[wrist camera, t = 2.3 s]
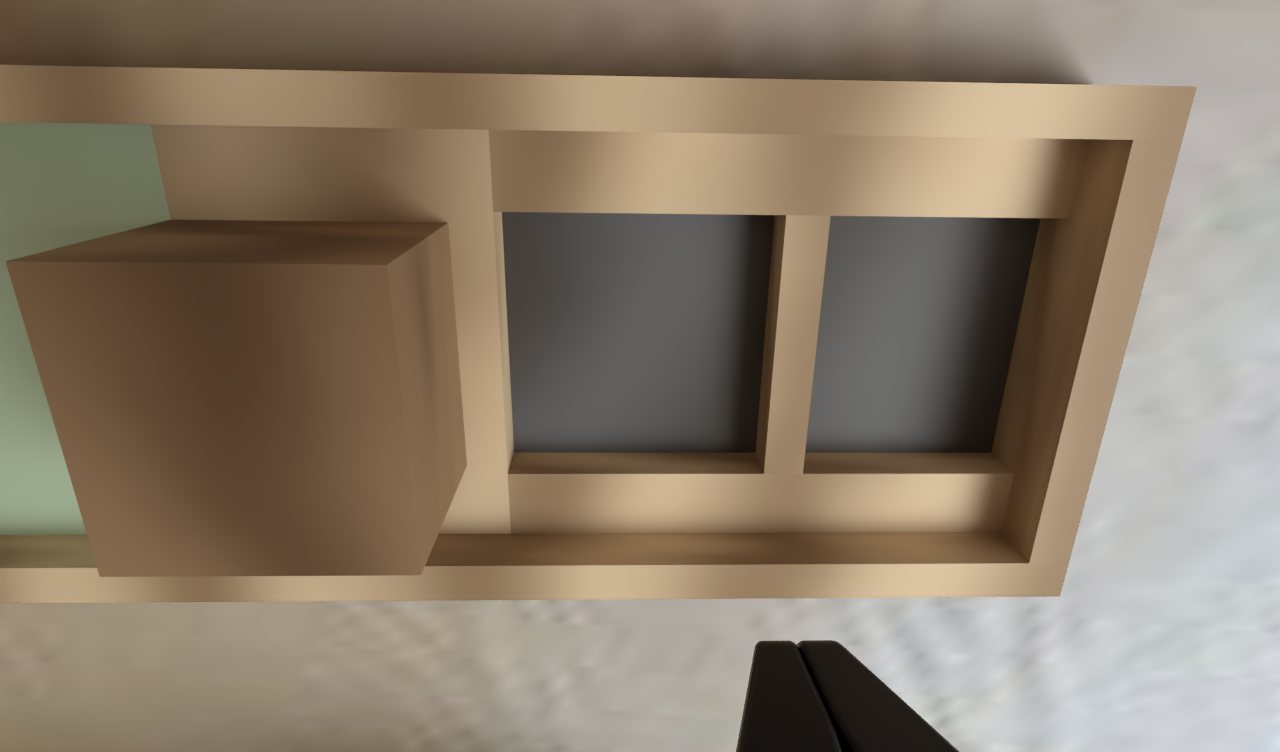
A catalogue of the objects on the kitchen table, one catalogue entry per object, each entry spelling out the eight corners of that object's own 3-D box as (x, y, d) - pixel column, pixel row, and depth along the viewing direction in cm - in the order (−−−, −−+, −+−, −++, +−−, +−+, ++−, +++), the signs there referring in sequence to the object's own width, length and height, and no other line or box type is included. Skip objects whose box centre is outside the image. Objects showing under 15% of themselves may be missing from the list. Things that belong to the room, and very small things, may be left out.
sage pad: (-43, 510, 19) (-84, 535, 18) (-189, 114, 16) (-251, 115, 15) (259, 509, 20) (237, 534, 18) (182, 121, 16) (150, 122, 15)
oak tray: (-57, 534, 20) (-167, 604, 17) (-236, 65, 16) (-420, 57, 13) (1000, 530, 21) (1059, 596, 18) (1099, 90, 17) (1196, 86, 14)
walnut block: (222, 465, 18) (100, 576, 14) (170, 219, 16) (5, 261, 11) (466, 465, 18) (421, 574, 14) (447, 222, 16) (386, 264, 12)
